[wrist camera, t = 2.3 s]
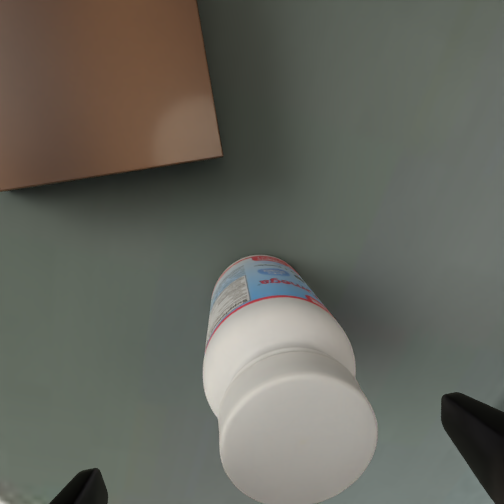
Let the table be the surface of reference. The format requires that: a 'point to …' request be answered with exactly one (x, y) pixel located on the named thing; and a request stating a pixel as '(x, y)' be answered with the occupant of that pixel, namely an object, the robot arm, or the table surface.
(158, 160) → the walnut platform
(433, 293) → the table surface
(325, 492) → the pill bottle
